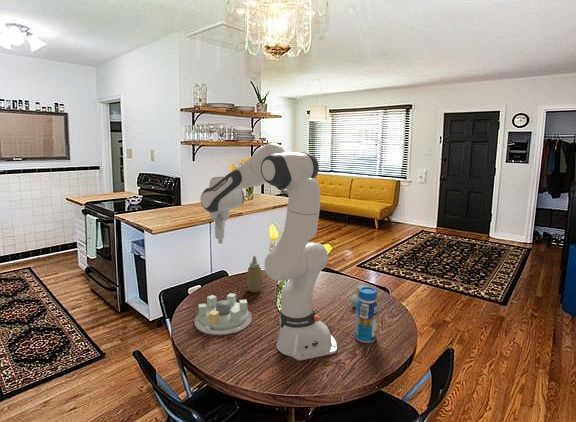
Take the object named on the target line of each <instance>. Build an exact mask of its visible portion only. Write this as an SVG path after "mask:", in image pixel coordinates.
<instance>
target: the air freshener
mask: <svg viewBox="0 0 576 422" xmlns="http://www.w3.org/2000/svg"><path fill="white" fill-rule="evenodd" d="M362 287H370V285H366V284H358V286H357V288H356V293H355V294H354V295H352V296H351V298H350V304H351V305H352V306H353V307H354V308H356V309H357V307H356V304H357V302H358V300H359V299H360V298H359V289H360V288H362Z"/></svg>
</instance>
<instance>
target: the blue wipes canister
mask: <svg viewBox="0 0 576 422" xmlns="http://www.w3.org/2000/svg"><path fill="white" fill-rule="evenodd" d="M377 297H378V291H377V289H375V288H374V287H372V286H371V287H370V286H369V287H362V288H360V289H359V298H360V299H359V300H358V302H357V304H356V307H357V308H356V309H355V326H354V338H355V339H356V340H357V341H358V342H361V343H365V344H366V343H367V344H371V343H373V342H375V341H376V338H377V326H378V325H377V324H378V317H379V312H378V310H379V305H378V303H377V301H376V300H377V299H378V298H377Z"/></svg>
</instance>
